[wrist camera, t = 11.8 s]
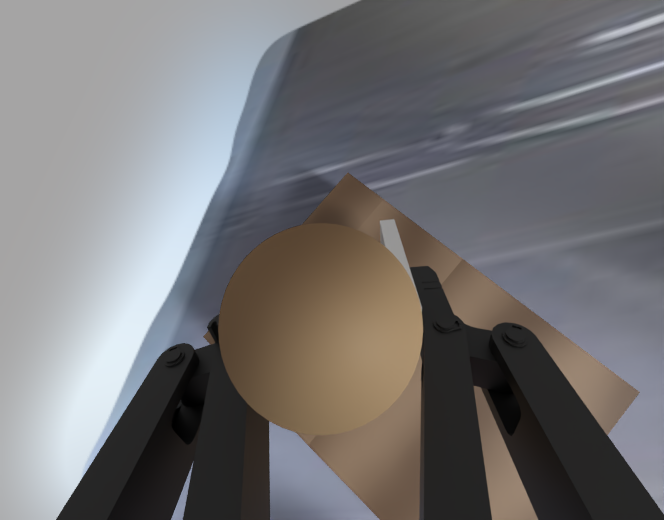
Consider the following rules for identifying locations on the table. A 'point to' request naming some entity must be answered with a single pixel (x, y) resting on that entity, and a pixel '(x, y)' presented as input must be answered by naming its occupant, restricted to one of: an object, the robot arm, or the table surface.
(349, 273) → the wooden peg
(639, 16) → the table surface
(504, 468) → the leg block
